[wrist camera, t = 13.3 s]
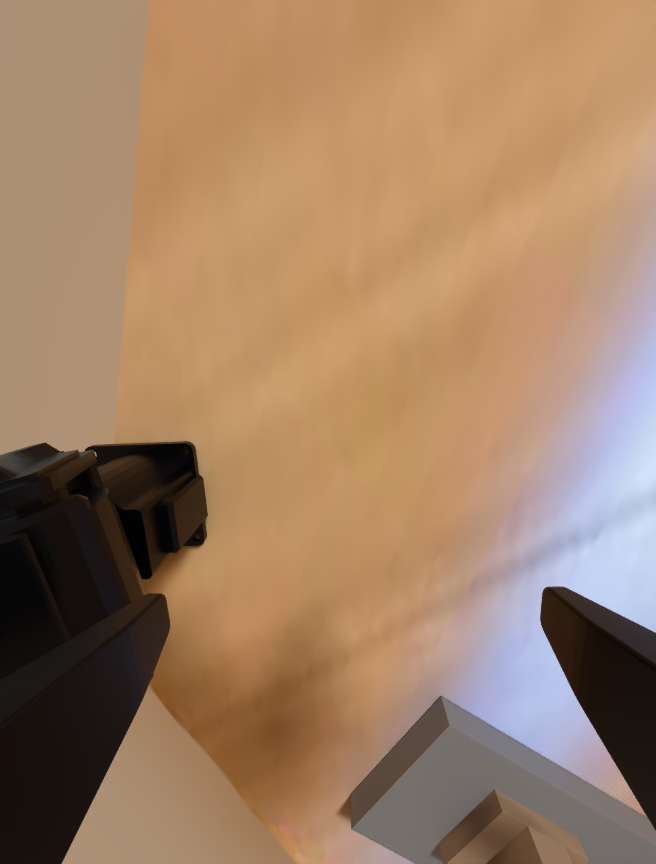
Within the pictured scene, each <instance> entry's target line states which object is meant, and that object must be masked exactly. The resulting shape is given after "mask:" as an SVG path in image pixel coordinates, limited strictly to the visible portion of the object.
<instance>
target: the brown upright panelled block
mask: <svg viewBox="0 0 656 864" xmlns="http://www.w3.org/2000/svg"><path fill="white" fill-rule="evenodd" d="M439 846H440V851H441V856H442V861H443V864H586V863H587V862H588V861H589V859H588V857H587V855H586V853H585V851H584V849H583V847H582V845H581V843H580V841H579V839H578V837H577V836H576V835H574V834H572V833H571V832H569V831H567V830H565V829H564V828H562V827H560V826H558V825H557V824H555V823H553V822H551V821H550V820H548V819H546V818H544V817H543V816H541V815H539V814H537V813H536V812H534V811H532V810H530V809H529V808H527V807H525V806H523V805H522V804H520V803H518V802H516V801H515V800H513V799H511V798H509V797H508V796H506V795H504V794H502V793H501V792H499V791H497V790H496V789H494V790H493V791H492V792H491V793H490V794H489V795H488V796H487V797H486V798H485V799H484V800H483V801H482V802H481V803H480V804H478V805H477V806H476V807H475V808H474V809H473V810H472V811H471V812H470V813H469V814H468V815H467V816H466V817H465V818H464V819H463V820H462V821H461V822H460V823H459V824H458V825H457V826H456V827H455V828H453V829H452V830H451V831H450V832H449V833H448V834H447V835H446V836H445V837H444V838H443V839H442V840H441V841H440V842H439Z"/></svg>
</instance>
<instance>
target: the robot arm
mask: <svg viewBox="0 0 656 864" xmlns="http://www.w3.org/2000/svg"><path fill="white" fill-rule="evenodd" d="M183 447H186V448H187V449H188V450H189V454H186V453H185V452H184V451H183ZM94 452H96V454H97V457H96V456H95V453H94ZM207 516H208V513H207V505H206V497H205V490H204V482H203V478H202V477H201V476H200V475H199V471H198V463H197V456H196V449H195V446H194V445H193V444H192V443H191V442H187V441H183V442H157V443H131V444H105V445H93V446H90V447H88V448H87V449H85V451H84V452H79V451H78V450H74V451H69V452H64V451H61V452H60V451H59V450H57V449H55V448H53V447H51V446H50V445H48V444H47V443H42V444H37V445H32V446H29V447H25V448H22V449H19V450H16V451H12V452H9V453H6V454H3V455H0V864H61V863H62V862H63V859H64V858H65V856H66V854H67V852H68V850H69V847H70V845H71V843H72V841H73V840H74V837H75V835H76V833H77V831H78V829H79V827H80V825H81V823H82V821H83V819H84V817H85V815H86V813H87V811H88V809H89V807H90V805H91V803H92V801H93V799H94V797H95V795H96V793H97V791H98V789H99V787H100V785H101V783H102V781H103V779H104V777H105V775H106V773H107V771H108V769H109V767H110V765H111V763H112V761H113V759H114V757H115V755H116V753H117V751H118V749H119V747H120V745H121V743H122V741H123V738H124V737H125V735H126V733H127V731H128V729H129V727H130V725H131V723H132V720H133V718H134V716H135V714H136V712H137V710H138V708H139V706H140V704H141V702H142V700H143V697H144V695H145V693H146V690H147V688H148V685H149V683H150V681H151V679H152V677H153V675H154V674H153V672H154V670H155V667H156V664H157V662H158V659H159V657H160V654H161V652H162V649H163V646H164V644H165V641H166V639H167V636H168V633H169V629H170V620H169V613H168V607H167V601H166V597H165V595H163V594H147V592H146V589H145V587H144V584H143V581H142V579H149V578H150V577H151V576H152V575H153V574H154V573H155V572H156V570H157V569H158V568H159V567H160V566H161V565H162V563H163V562H164V561H165V560H166V559H167V557H168V556H169V555H170V554H171V553H177V552H178V551H179V550H180V549H181V548H182V547H183V546H198V545H201V544H202V543H203V542H204V541H205V539H206V538H207V532H206V525H205V519H206V517H207ZM195 534H197V535H199V536H200V539H198V538H196V537H195ZM540 620H541V625H542V628H543V631H544V633H545V635H546V637H547V639H548V641H549V643H550V645H551V647H552V649H553V651H554V653H555V655H556V657H557V659H558V662H559V664H560V666H561V668H562V670H563V672H564V674H565V676H566V678H567V680H568V682H569V684H570V686H571V688H572V690H573V692H574V694H575V696H576V698H577V700H578V702H579V703H580V705H581V707H582V709H583V710H584V712H585V714H586V715H587V717H588V719H589V720H590V722H591V724H592V725H593V727H594V729H595V730H596V732H597V734H598V735H599V737H600V739H601V740H602V742H603V744H604V745H605V747H606V749H607V750H608V752H609V754H610V755H611V757H612V759H613V760H614V762H615V764H616V765H617V767H618V769H619V770H620V772H621V774H622V775H623V777H624V779H625V780H626V782H627V784H628V785H629V787H630V789H631V790H632V792H633V794H634V796H635V797H636V799H637V801H638V802H639V804H640V806H641V807H642V809H643V811H644V812H645V814H646V816H647V817H648V819H649V821H650V822H651V824H652V826H653V827H654V829H655V831H656V633H655V632H653V631H651V630H649V629H647V628H645V627H643V626H641V625H639V624H637V623H635V622H633V621H631V620H629V619H627V618H625V617H623V616H621V615H619V614H617V613H615V612H613V611H611V610H609V609H607V608H605V607H603V606H601V605H599V604H597V603H595V602H593V601H591V600H589V599H587V598H585V597H583V596H581V595H579V594H577V593H575V592H573V591H571V590H570V589H568V588H565V587H546V588H545V589H544V590H543V593H542V604H541V615H540Z"/></svg>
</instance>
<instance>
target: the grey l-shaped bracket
mask: <svg viewBox="0 0 656 864" xmlns="http://www.w3.org/2000/svg"><path fill="white" fill-rule="evenodd" d="M494 789H496V790H497V791H499V792H501V793H502V794H504V795H506V796H508V797H509V798H511V799H513V800H515V801H516V802H518V803H520V804H522V805H523V806H525V807H527V808H529V809H530V810H532V811H534V812H536V813H537V814H539V815H541V816H543V817H544V818H546V819H548V820H550V821H551V822H553V823H555V824H557V825H558V826H560V827H562V828H564V829H565V830H567V831H569V832H571V833H572V834H574V835H576V836H577V837H578V839H579V841H580V843H581V845H582V847H583V849H584V851H585V853H586V855H587V857H588V859H589V861H588V862H587V863H586V864H656V831H655V829H654V827H653V826H652V824H651V822H650V821H649V819H648V818H647V817H645V816H643V815H642V814H640V813H638V812H637V811H635V810H633V809H632V808H630V807H628V806H627V805H625V804H623V803H621V802H620V801H618V800H616V799H615V798H613V797H611V796H610V795H608V794H606V793H605V792H603V791H601V790H599V789H598V788H596V787H594V786H593V785H591V784H589V783H588V782H586V781H584V780H583V779H581V778H579V777H577V776H576V775H574V774H572V773H571V772H569V771H567V770H566V769H564V768H562V767H561V766H559V765H557V764H555V763H554V762H552V761H550V760H549V759H547V758H545V757H544V756H542V755H540V754H539V753H537V752H535V751H533V750H532V749H530V748H528V747H527V746H525V745H523V744H522V743H520V742H518V741H517V740H515V739H513V738H511V737H510V736H508V735H506V734H505V733H503V732H501V731H500V730H498V729H496V728H495V727H493V726H491V725H489V724H488V723H486V722H484V721H483V720H481V719H479V718H478V717H476V716H474V715H473V714H471V713H469V712H467V711H466V710H464V709H462V708H461V707H459V706H457V705H456V704H454V703H452V702H451V701H449V700H447V699H445V698H444V697H442V696H440V698H439V699H438V700H437V701H436V702H435V703H434V704H433V705H432V706H431V707H430V708H429V710H428V711H427V712H426V713H425V714H424V715H423V716H422V717H421V718H420V719H419V721H418V722H417V723H416V724H415V725H414V726H413V727H412V728H411V729H410V730H409V731H408V733H407V734H406V735H405V736H404V737H403V738H402V739H401V740H400V741H399V742H398V743H397V745H396V746H395V747H394V748H393V749H392V750H391V751H390V752H389V753H388V754H387V755H386V757H385V758H384V759H383V760H382V761H381V762H380V763H379V764H378V765H377V766H376V767H375V769H374V770H373V771H372V772H371V773H370V774H369V775H368V776H367V777H366V778H365V779H364V781H363V782H362V783H361V784H360V785H359V786H358V787H357V788H356V789H355V790H354V792H353V793H352V794H351V829H352V830H354V831H356V832H358V833H359V834H361V835H363V836H365V837H367V838H369V839H371V840H373V841H374V842H376V843H378V844H380V845H382V846H384V847H386V848H387V849H389V850H391V851H393V852H395V853H397V854H399V855H401V856H402V857H404V858H406V859H408V860H410V861H412V862H414V863H415V864H443V861H442V856H441V851H440V846H439V842H440V841H441V840H442V839H443V838H444V837H445V836H446V835H447V834H448V833H449V832H450V831H451V830H452V829H453V828H455V827H456V826H457V825H458V824H459V823H460V822H461V821H462V820H463V819H464V818H465V817H466V816H467V815H468V814H469V813H470V812H471V811H472V810H473V809H474V808H475V807H476V806H477V805H478V804H480V803H481V802H482V801H483V800H484V799H485V798H486V797H487V796H488V795H489V794H490V793H491V792H492V791H493V790H494Z"/></svg>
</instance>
